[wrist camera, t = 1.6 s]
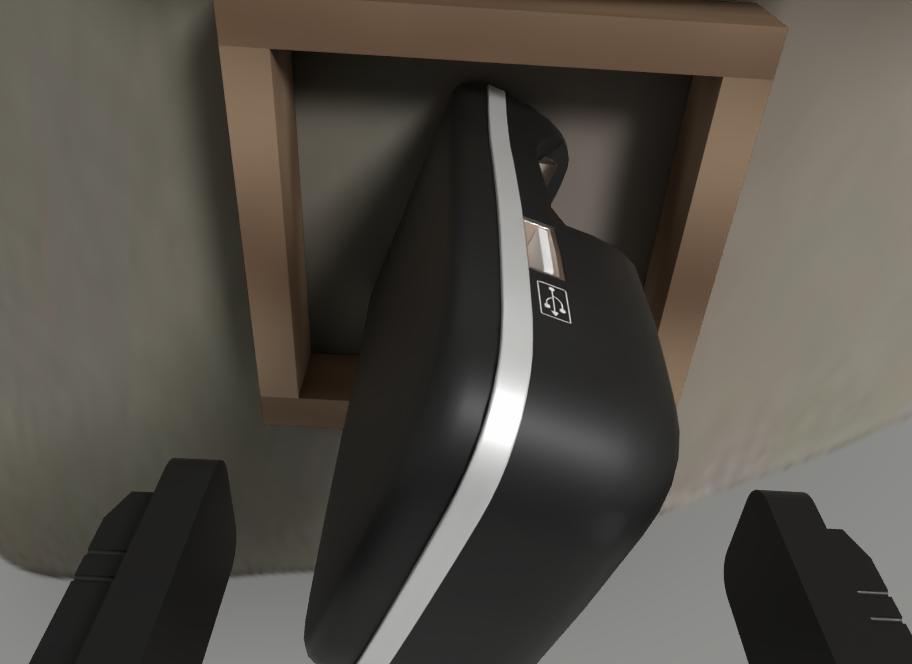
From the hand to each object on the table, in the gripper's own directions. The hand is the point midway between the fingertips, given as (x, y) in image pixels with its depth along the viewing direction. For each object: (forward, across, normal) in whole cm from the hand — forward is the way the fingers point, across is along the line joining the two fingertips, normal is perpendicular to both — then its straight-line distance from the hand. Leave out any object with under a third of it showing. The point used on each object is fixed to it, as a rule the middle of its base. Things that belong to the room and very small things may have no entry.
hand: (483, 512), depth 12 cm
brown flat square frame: (+9, 0, 0) cm, 9 cm away
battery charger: (+10, 0, 0) cm, 10 cm away
